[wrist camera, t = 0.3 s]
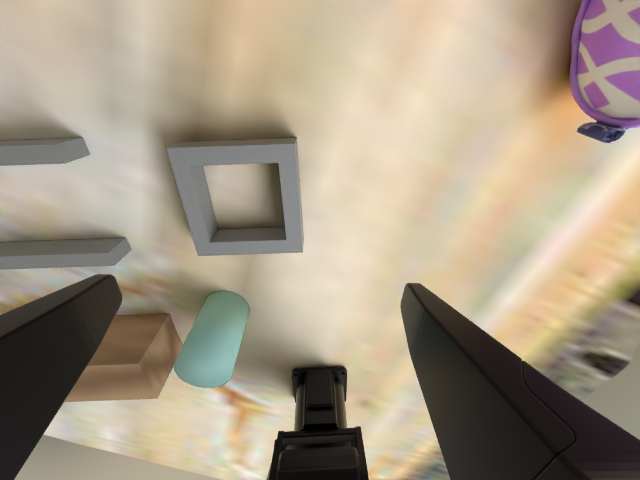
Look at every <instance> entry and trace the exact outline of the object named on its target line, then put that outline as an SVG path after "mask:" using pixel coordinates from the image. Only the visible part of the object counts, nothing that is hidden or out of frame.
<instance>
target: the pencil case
mask: <svg viewBox="0 0 640 480" xmlns="http://www.w3.org/2000/svg"><path fill="white" fill-rule="evenodd" d="M571 45H572V49H571V56H572V57H571V65H570V86H571V91H572V95H573V97H574V99H575V101H576V102H577V104H578V105H579V107H580V108H581V109H582V110H583V111H584V112H585V113H586V114H587V115H588V116H590V117H591V118H593V119H595V120H596V121H597V122H596V123H592V122H589V123H586V124H583V125H581V126H580V127H579V128H578V130H577V132H578V133H580V134H583V135H585V136H588V137H591V138H594V139H596V140H599V141H602V142H604V143H610V142H612V141H616V140H618V139H620V138H621V137H622V136H623V135H624V133H625V131H626V130H627V129H628V128H637V127H640V0H583V1H582V3H581V6H580V9H579V12H578V15H577V17H576V19H575V22H574V27H573V32H572V38H571Z"/></svg>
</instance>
